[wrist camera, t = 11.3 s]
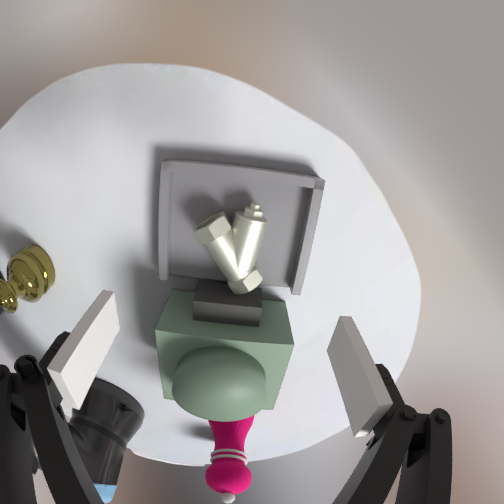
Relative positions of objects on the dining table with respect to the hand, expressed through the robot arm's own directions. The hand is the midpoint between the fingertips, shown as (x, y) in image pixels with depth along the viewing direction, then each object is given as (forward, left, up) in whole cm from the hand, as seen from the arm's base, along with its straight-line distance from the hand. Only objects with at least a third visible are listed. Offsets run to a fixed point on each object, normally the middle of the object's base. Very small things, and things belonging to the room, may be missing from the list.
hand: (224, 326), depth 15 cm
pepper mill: (-27, -2, -17) cm, 32 cm away
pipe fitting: (-1, -1, -16) cm, 16 cm away
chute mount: (+1, 0, -16) cm, 16 cm away
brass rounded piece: (-8, +29, -17) cm, 34 cm away
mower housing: (-13, 0, -16) cm, 21 cm away
